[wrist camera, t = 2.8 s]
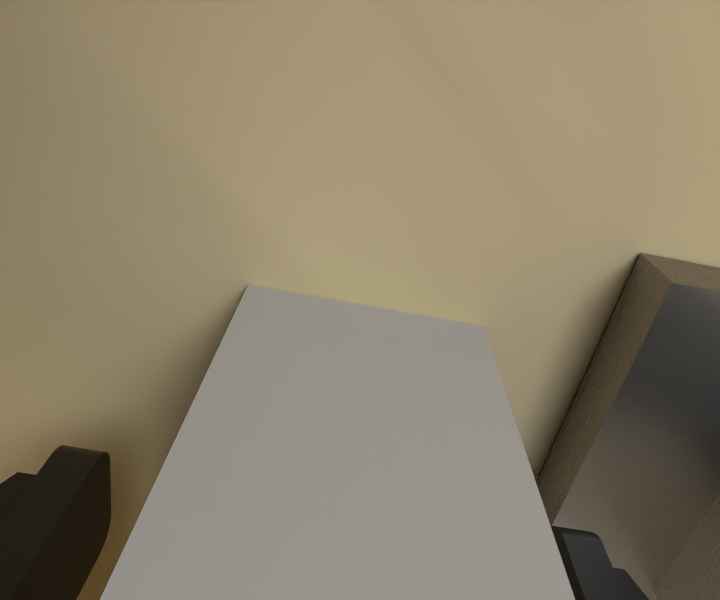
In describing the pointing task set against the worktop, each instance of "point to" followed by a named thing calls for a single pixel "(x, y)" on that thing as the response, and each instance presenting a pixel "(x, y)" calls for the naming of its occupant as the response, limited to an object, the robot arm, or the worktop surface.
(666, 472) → the grey slotted holder
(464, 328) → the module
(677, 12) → the worktop surface
